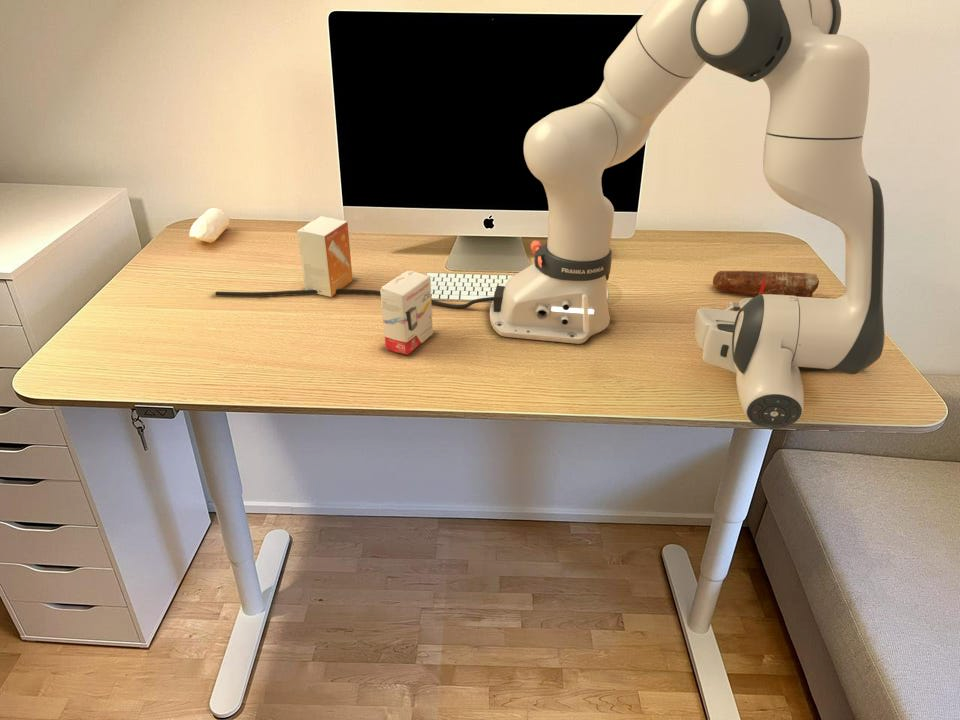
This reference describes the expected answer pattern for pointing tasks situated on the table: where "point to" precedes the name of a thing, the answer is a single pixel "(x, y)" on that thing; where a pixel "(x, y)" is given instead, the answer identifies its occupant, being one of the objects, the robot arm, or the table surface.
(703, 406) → the table surface
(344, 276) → the small box
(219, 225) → the roll
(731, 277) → the bread
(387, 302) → the ink box
